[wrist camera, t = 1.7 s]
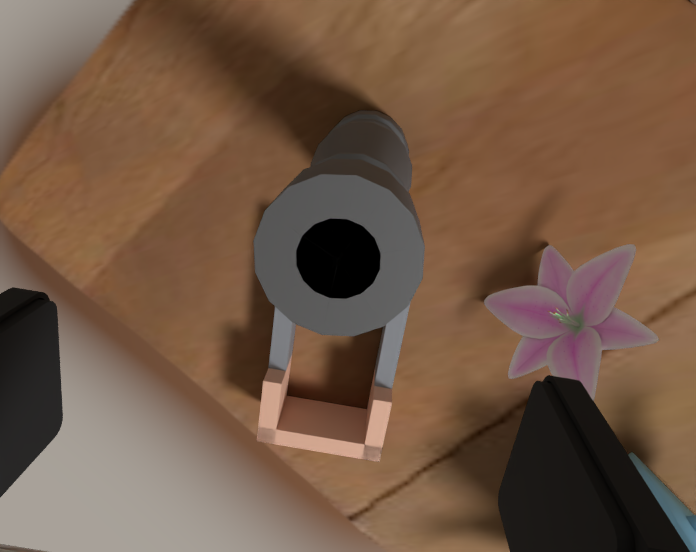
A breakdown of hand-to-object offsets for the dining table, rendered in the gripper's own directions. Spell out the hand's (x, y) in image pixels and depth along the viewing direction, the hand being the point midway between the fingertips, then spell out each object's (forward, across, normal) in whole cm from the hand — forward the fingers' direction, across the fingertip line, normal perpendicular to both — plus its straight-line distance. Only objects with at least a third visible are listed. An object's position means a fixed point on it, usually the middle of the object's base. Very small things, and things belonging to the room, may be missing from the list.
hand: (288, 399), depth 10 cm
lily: (+33, -17, +9) cm, 38 cm away
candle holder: (+33, 0, 0) cm, 33 cm away
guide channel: (+33, 0, +15) cm, 36 cm away
